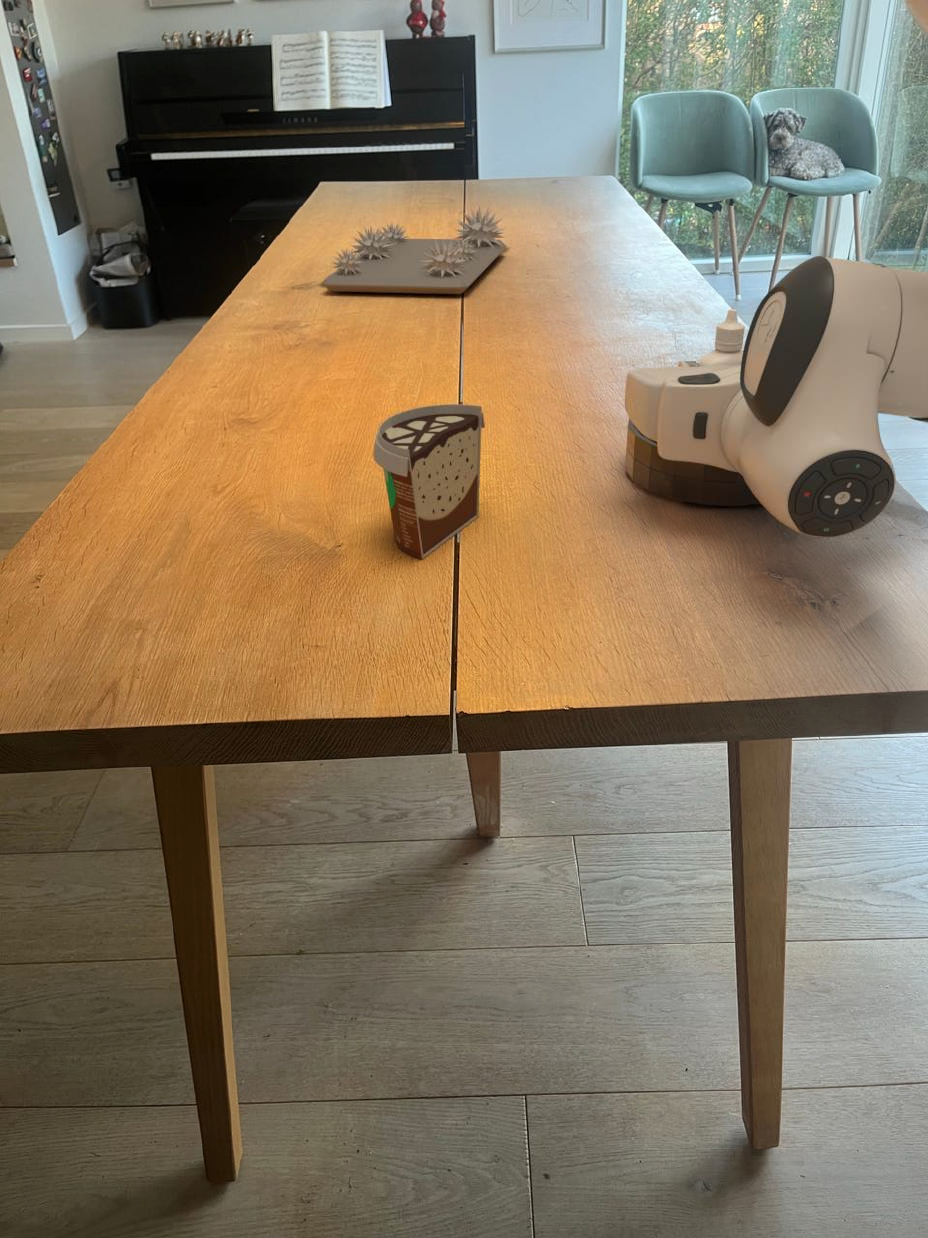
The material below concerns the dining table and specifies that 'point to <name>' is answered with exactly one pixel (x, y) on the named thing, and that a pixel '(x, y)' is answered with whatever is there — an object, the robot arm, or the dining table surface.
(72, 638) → the dining table surface
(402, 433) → the food container
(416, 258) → the decorative tray
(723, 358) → the eye dropper bottle
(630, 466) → the faceted ring band
